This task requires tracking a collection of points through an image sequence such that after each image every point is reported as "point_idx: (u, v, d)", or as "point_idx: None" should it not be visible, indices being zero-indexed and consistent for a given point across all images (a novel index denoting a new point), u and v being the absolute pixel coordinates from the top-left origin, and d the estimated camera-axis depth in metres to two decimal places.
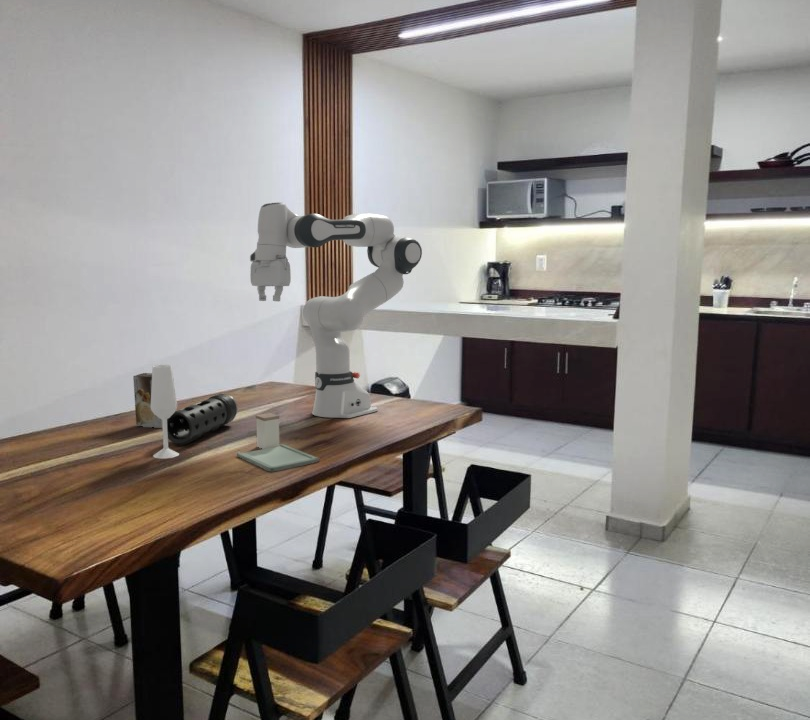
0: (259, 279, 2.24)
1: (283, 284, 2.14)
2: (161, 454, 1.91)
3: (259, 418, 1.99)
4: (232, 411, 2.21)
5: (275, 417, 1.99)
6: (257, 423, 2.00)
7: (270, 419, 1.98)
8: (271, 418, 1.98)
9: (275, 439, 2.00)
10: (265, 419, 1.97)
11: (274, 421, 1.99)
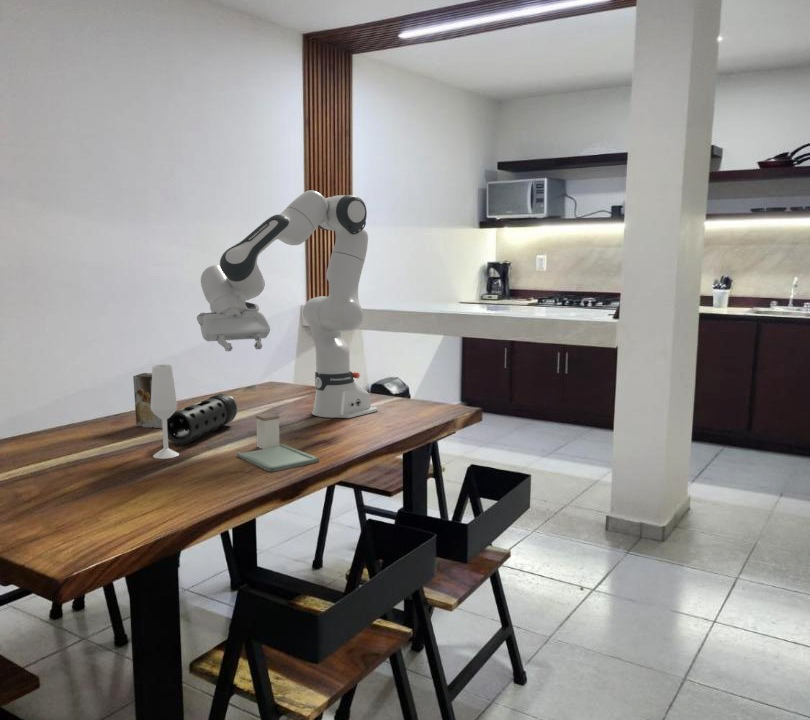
0: None
1: (206, 338, 2.03)
2: (161, 454, 1.91)
3: (259, 418, 1.99)
4: (232, 411, 2.21)
5: (275, 417, 1.99)
6: (257, 423, 2.00)
7: (270, 419, 1.98)
8: (271, 418, 1.98)
9: (275, 439, 2.00)
10: (265, 419, 1.97)
11: (274, 421, 1.99)
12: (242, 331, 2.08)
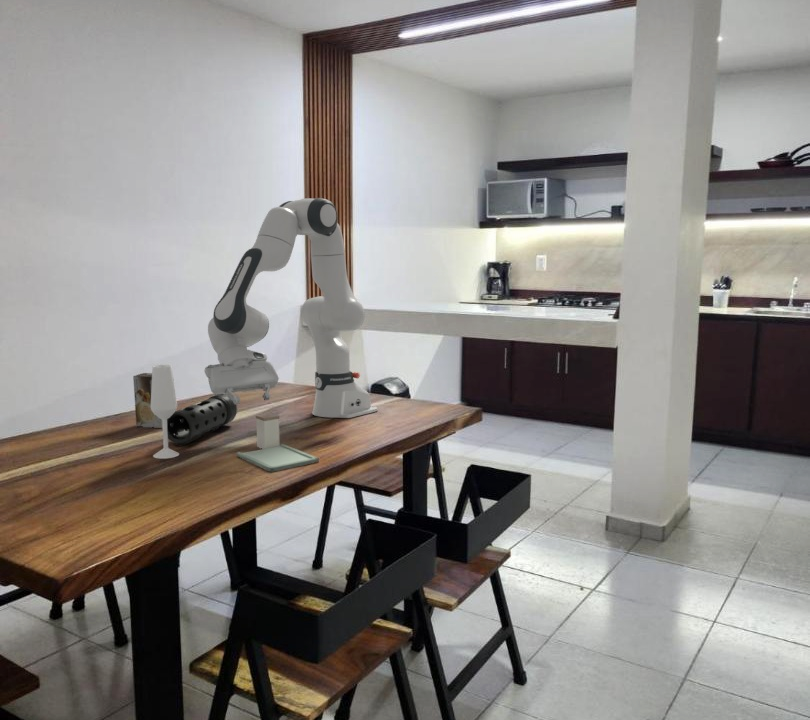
0: None
1: (214, 391, 2.02)
2: (161, 454, 1.91)
3: (259, 418, 1.99)
4: (232, 411, 2.21)
5: (275, 417, 1.99)
6: (257, 423, 2.00)
7: (270, 419, 1.98)
8: (271, 418, 1.98)
9: (275, 439, 2.00)
10: (265, 419, 1.97)
11: (274, 421, 1.99)
12: (250, 383, 2.07)
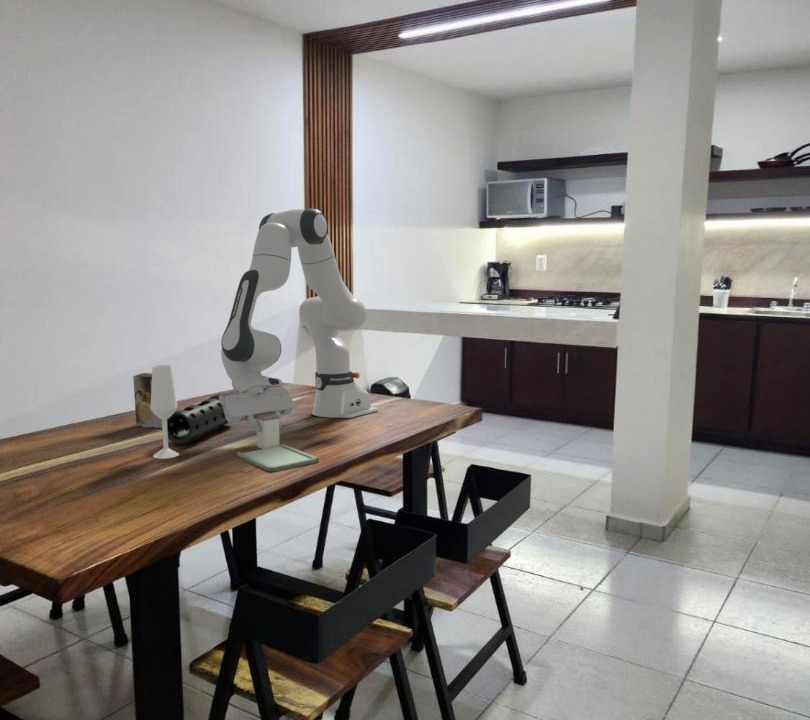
0: None
1: (229, 420, 1.96)
2: (161, 454, 1.91)
3: (259, 418, 1.99)
4: None
5: (275, 417, 1.99)
6: None
7: (270, 419, 1.98)
8: (271, 418, 1.98)
9: (275, 439, 2.00)
10: (265, 419, 1.97)
11: (274, 421, 1.99)
12: (266, 410, 2.01)
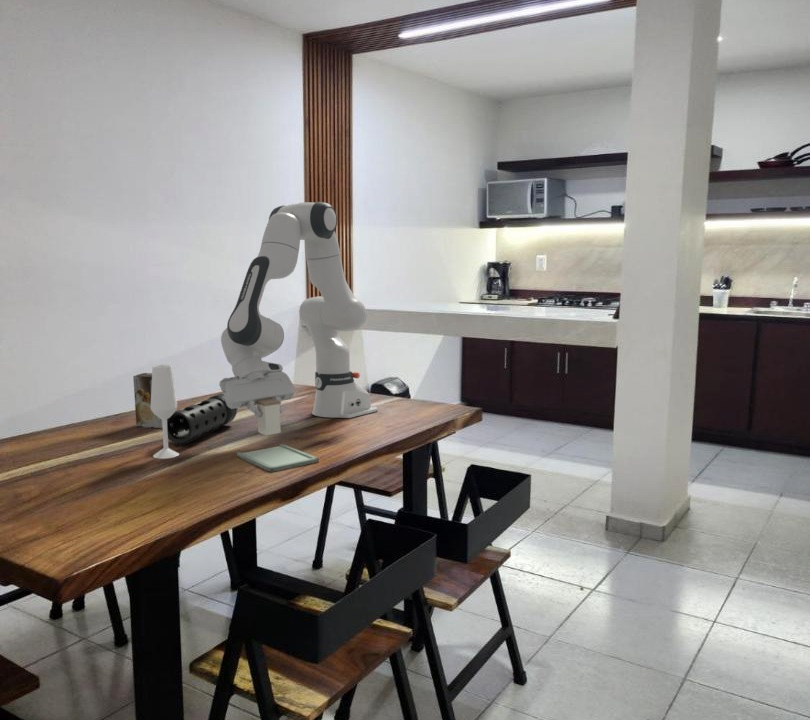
0: None
1: (230, 406, 1.96)
2: (161, 454, 1.91)
3: (260, 403, 1.98)
4: (232, 411, 2.21)
5: (276, 402, 1.98)
6: (258, 408, 2.00)
7: (271, 404, 1.98)
8: (272, 403, 1.98)
9: (276, 424, 2.00)
10: (266, 404, 1.97)
11: (275, 406, 1.99)
12: (266, 395, 2.01)
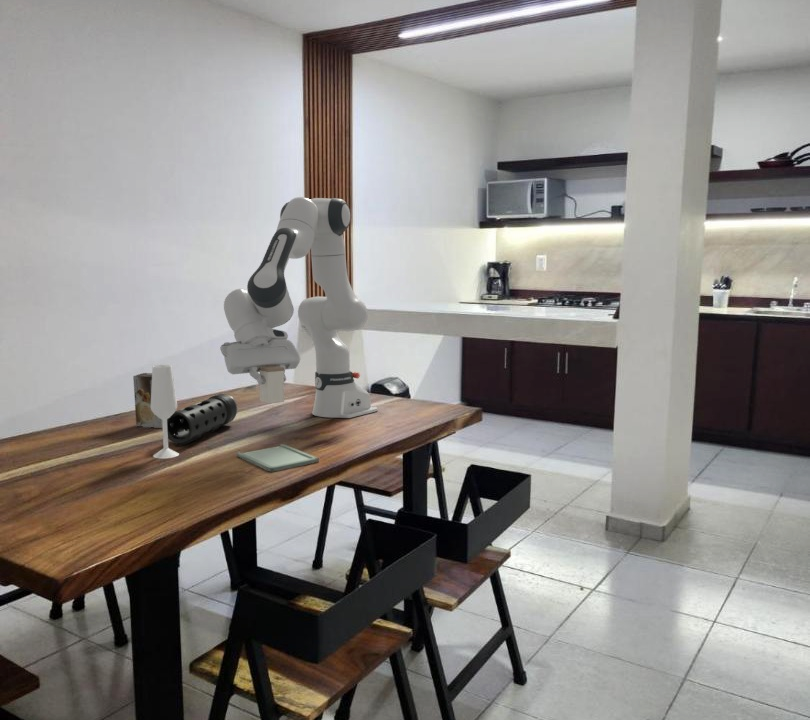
0: None
1: (231, 371, 1.84)
2: (161, 454, 1.91)
3: (262, 369, 1.86)
4: (232, 411, 2.21)
5: (280, 369, 1.86)
6: None
7: (274, 370, 1.86)
8: (275, 369, 1.86)
9: (280, 392, 1.87)
10: (269, 370, 1.85)
11: (278, 373, 1.86)
12: (270, 362, 1.89)
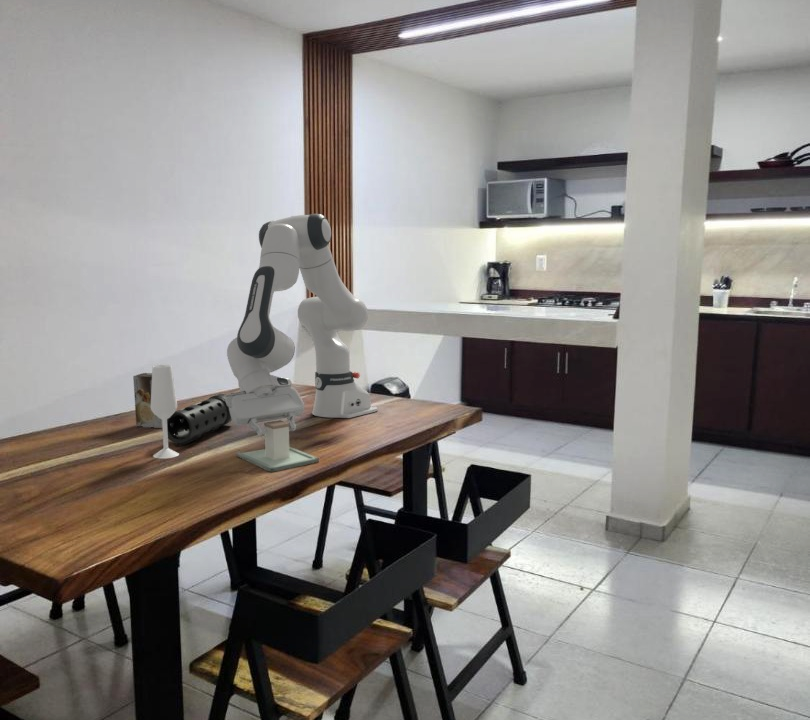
0: None
1: (236, 422, 1.84)
2: (161, 454, 1.91)
3: (268, 426, 1.87)
4: None
5: (285, 425, 1.87)
6: (266, 431, 1.88)
7: (280, 427, 1.86)
8: (281, 426, 1.86)
9: (285, 448, 1.88)
10: (274, 427, 1.85)
11: (284, 429, 1.87)
12: (275, 412, 1.89)
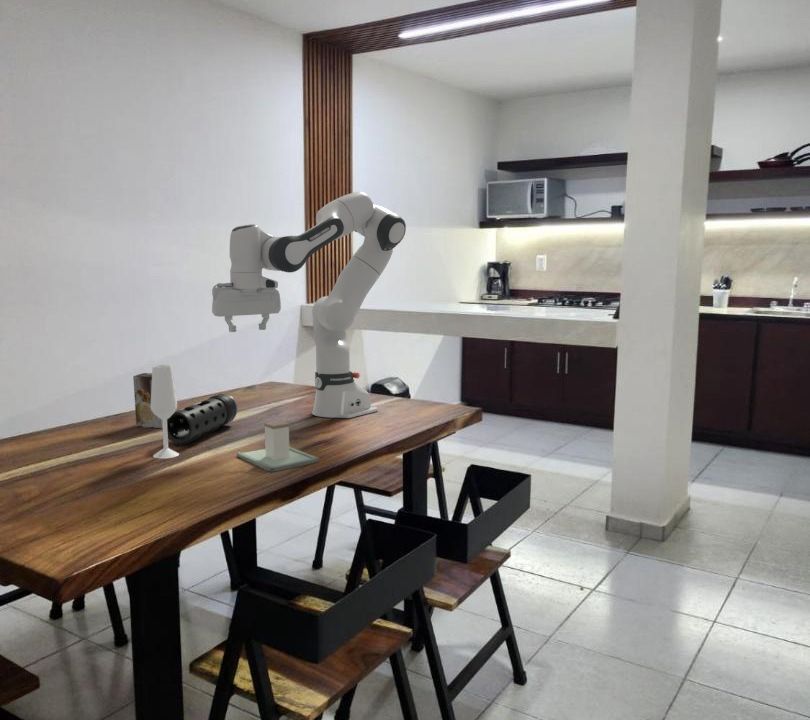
0: None
1: (214, 314, 2.02)
2: (161, 454, 1.91)
3: (268, 426, 1.87)
4: (232, 411, 2.21)
5: (285, 425, 1.87)
6: (266, 431, 1.88)
7: (280, 427, 1.86)
8: (281, 426, 1.86)
9: (285, 448, 1.88)
10: (274, 427, 1.85)
11: (284, 429, 1.87)
12: (252, 313, 2.07)
